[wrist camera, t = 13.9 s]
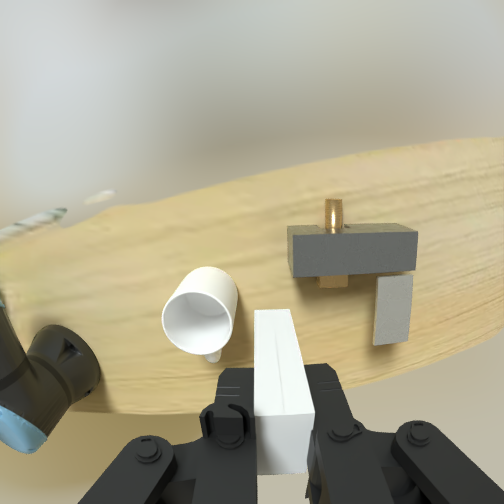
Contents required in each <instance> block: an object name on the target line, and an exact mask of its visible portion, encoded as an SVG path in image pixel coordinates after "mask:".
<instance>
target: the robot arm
mask: <svg viewBox="0 0 504 504" xmlns="http://www.w3.org/2000/svg"><path fill="white" fill-rule="evenodd" d="M99 380H100V369H99V365H98V362H97V360H96V357H95V356H94V354H93V352H92V351H91V349H90V348H89V346H88V345H87V344H86V343H85V342H84V341H83V340H82V339H81V338H80V337H79V336H78V335H77V334H75V333H74V332H73V331H71V330H69V329H67V328H65V327H63V326H59V325H48V326H46V327H44V328H43V329H42V330H40V331H39V332H38V333H37V334H36V335H35V337H34V339H33V342H32V344H31V346H30V348H29V350H28V352H27V354H26V353H25V352H24V350H23V348H22V346H21V344H20V341H19V339H18V337H17V335H16V333H15V331H14V329H13V326H12V324H11V322H10V320H9V317H8V315H7V313H6V310H5V305H4V304H2V302H1V299H0V440H1V441H2V442H3V443H5V444H6V445H8V446H9V447H11V448H13V449H15V450H17V451H19V452H22V453H26V454H31V453H34V452H36V451H37V450H38V449H39V448H40V447H41V445H42V444H43V443H44V442H46V440H47V438H48V436H49V435H50V433H51V432H52V430H53V429H54V428H55V426H56V425H57V423H58V422H59V420H60V419H61V418H62V416H63V415H64V414H65V412H66V411H67V409H68V408H69V407H70V405H71V404H73V403H75V402H77V401H79V400H81V399H82V398H84V397H86V396H88V395H89V394H91V393H92V392H93V390H94V389H95V388H96V386H97V385H98V383H99ZM199 418H200V423H201V428H202V433H203V437H201V438H200V439H198V440H196V441H194V442H190V443H186V444H179V445H171V444H170V443H169V442H168V441H167V440H165V439H163V438H161V437H158V436H151V435H149V436H140V437H138V438H135V439H133V440H132V441H131V442H129V443H128V444H127V445H126V446H125V447H124V448H123V450H122V451H121V452H120V453H119V454H118V456H117V457H116V458H115V459H114V461H113V462H112V463H111V464H110V466H109V467H108V468H107V469H106V470H105V471H104V473H103V474H102V475H101V476H100V477H99V479H98V480H97V481H96V482H95V484H94V485H93V486H92V487H91V488H90V490H89V491H88V492H87V493H86V494H85V495H84V497H83V498H82V499H81V500H80V501H79V502H78V504H257V475H276V474H277V475H278V474H294V473H306V470H307V466H308V472H309V480H308V485H307V489H306V495H305V498H309V500H310V504H504V491H503V490H502V489H501V488H500V487H499V486H498V485H497V484H496V483H495V482H494V481H493V480H491V479H490V478H489V477H488V476H487V475H486V474H485V473H484V472H483V471H482V470H481V469H480V468H479V467H478V466H477V465H476V464H475V463H474V462H473V461H471V460H470V459H469V458H468V457H467V456H466V455H465V454H464V453H463V452H462V451H461V450H460V449H459V448H458V447H457V446H456V445H455V444H454V443H453V442H452V441H450V440H449V439H448V438H447V437H446V436H445V435H444V434H443V433H442V432H441V431H440V430H439V429H438V428H437V427H435V426H434V425H432V424H431V423H428V422H425V421H410V422H406V423H404V424H403V425H402V426H400V427H399V429H398V430H397V432H396V433H384V432H383V433H382V432H374V431H370V430H367V429H366V428H365V427H364V426H363V424H362V423H361V422H359V421H357V420H356V419H354V418H353V416H352V413H351V410H350V408H349V405H348V403H347V400H346V397H345V394H344V392H343V390H342V387H341V384H340V382H339V379H338V376H337V374H336V371H335V370H334V369H333V368H331V367H330V366H329V365H328V364H327V363H324V364H311V365H303V361H302V357H301V353H300V349H299V345H298V341H297V337H296V333H295V329H294V325H293V321H292V317H291V313H290V309H276V310H255V320H254V368H226V369H225V370H224V371H223V372H222V373H221V375H220V376H219V379H218V384H217V390H216V396H215V402H214V403H213V404H210V405H209V406H207V407H206V408H205V409H203V410H202V412H201V414H200V416H199Z"/></svg>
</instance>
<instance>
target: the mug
mask: <svg viewBox="0 0 504 504" xmlns="http://www.w3.org/2000/svg"><path fill="white" fill-rule="evenodd" d="M237 301H238V292H237V288H236V285H235V283H234V281H233V279H232V278H231V277H230V276H229V275H228V274H227V273H226V272H224V271H223V270H221V269H218V268H215V267H201V268H198V269H195V270H193V271H192V272H190V273H189V274H188V275H187V276H186V277H185V279H184V280H183V281H182V283H181V284H180V285H179V287H178V288H177V289H176V291H175V292H174V294H173V295H172V296H171V298H170V299H169V300H168V302H167V303H166V305H165V307H164V309H163V313H162V325H163V329H164V332H165V334H166V335H167V337H168V338H169V340H170V341H171V342H172V343H173V344H174V345H175V346H177V347H178V348H179V349H181V350H183V351H185V352H188V353H191V354H196V355H204V356H205V358H206V359H207V361H209V362H210V363H216V362H218V361H219V359H220V357H221V351H222V347H224V346H225V345H226V344H227V342H228V341H229V339H230V337H231V334H232V330H233V324H234V318H235V313H236V307H237Z"/></svg>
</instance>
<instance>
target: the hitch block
mask: <svg viewBox="0 0 504 504" xmlns="http://www.w3.org/2000/svg"><path fill="white" fill-rule="evenodd" d="M287 239H288V263H289V266H290V269H291V272H292V275H293V278H294V277H315V276H334V275H352V274H368V273H384V272H399V271H413V270H415V268H416V257H417V243H418V231H415V230H413V229H410V228H407V227H405V226H402V225H399V224H396V223H378V224H344V228H335V229H321V228H319V227H318V226H317V225H299V226H287Z"/></svg>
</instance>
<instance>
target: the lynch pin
mask: <svg viewBox="0 0 504 504" xmlns="http://www.w3.org/2000/svg"><path fill="white" fill-rule="evenodd" d="M335 228H342V199H325V229H335ZM317 284H318V286H319V288H337V287H348V275H334V276H317Z"/></svg>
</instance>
